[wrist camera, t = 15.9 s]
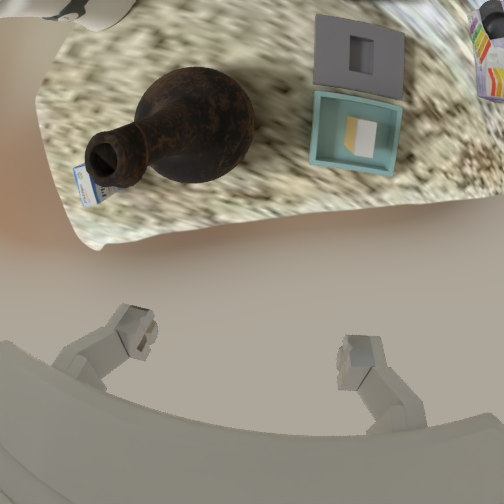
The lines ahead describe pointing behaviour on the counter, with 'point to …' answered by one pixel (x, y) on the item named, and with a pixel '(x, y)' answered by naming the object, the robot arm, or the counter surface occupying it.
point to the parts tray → (334, 127)
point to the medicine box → (91, 187)
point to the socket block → (358, 56)
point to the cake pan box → (489, 49)
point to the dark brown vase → (177, 132)
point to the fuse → (360, 136)
